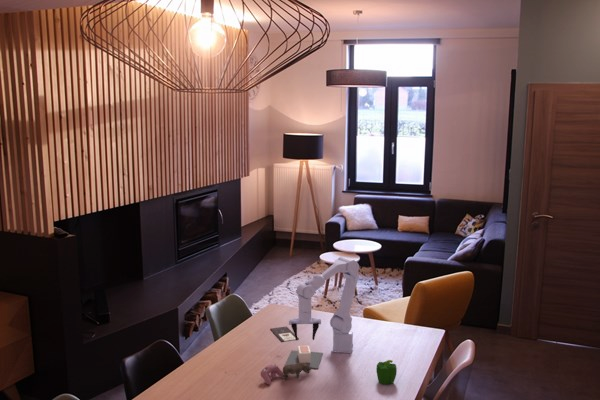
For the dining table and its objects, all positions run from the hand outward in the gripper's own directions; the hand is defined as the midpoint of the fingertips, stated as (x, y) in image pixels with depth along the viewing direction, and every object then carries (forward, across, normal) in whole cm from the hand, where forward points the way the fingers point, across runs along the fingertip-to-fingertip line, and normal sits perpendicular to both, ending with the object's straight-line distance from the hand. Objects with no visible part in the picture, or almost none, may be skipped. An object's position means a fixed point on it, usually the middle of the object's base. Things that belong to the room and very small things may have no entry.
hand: (304, 339), depth 256 cm
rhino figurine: (+10, +4, +18) cm, 21 cm away
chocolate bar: (+10, +9, -31) cm, 33 cm away
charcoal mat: (+9, 0, +1) cm, 9 cm away
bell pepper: (+10, -32, +25) cm, 42 cm away
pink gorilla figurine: (+10, +15, +20) cm, 27 cm away
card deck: (+9, 0, +1) cm, 9 cm away
